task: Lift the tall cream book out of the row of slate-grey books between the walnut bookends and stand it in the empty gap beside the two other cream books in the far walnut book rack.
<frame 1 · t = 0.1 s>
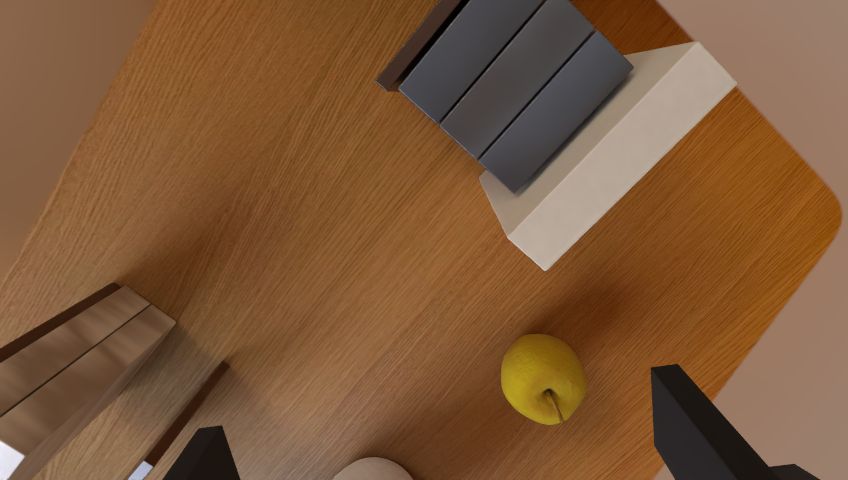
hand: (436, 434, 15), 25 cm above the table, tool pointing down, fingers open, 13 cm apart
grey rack: (501, 96, 36), on the table
apple: (532, 349, 42), on the table
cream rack: (149, 363, 43), on the table
cream book: (540, 133, 36), on the table
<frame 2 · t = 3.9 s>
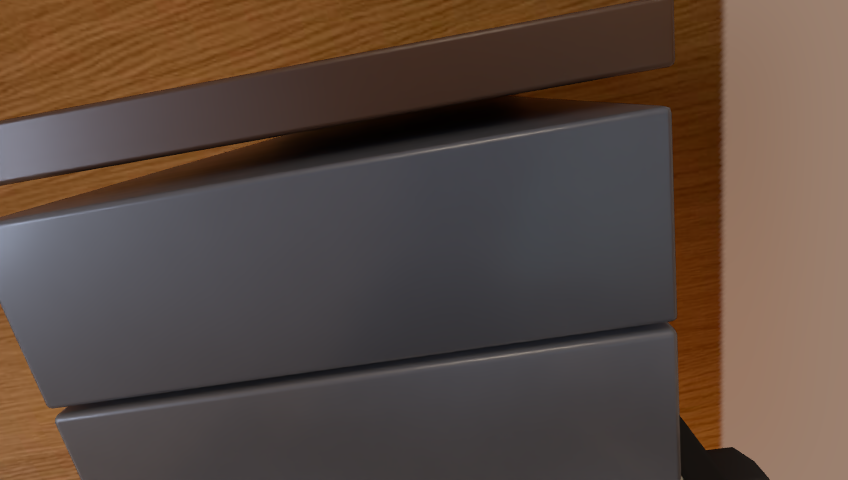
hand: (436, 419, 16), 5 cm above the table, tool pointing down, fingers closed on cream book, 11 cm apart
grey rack: (420, 250, 19), on the table
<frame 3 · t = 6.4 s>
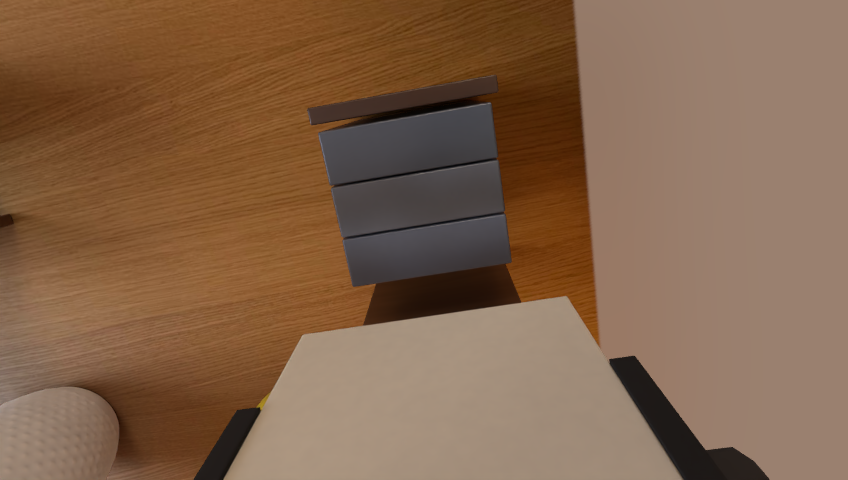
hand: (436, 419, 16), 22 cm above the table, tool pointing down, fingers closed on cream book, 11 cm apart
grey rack: (427, 182, 36), on the table
mug: (71, 414, 43), on the table
cream book: (437, 342, 20), point 17 cm above the table, touching gripper
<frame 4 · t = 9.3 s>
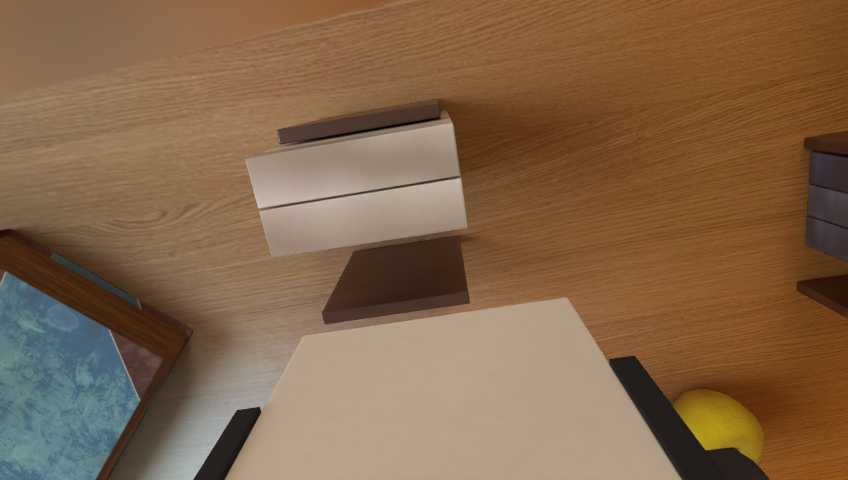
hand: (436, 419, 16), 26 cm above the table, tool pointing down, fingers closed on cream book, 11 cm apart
apple: (690, 401, 45), on the table
book: (59, 373, 46), on the table
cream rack: (395, 189, 40), on the table
cream book: (437, 343, 20), point 21 cm above the table, touching gripper
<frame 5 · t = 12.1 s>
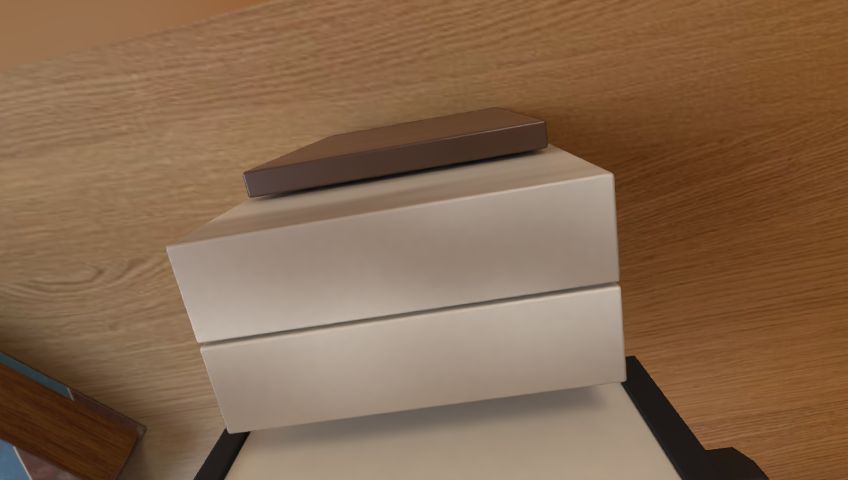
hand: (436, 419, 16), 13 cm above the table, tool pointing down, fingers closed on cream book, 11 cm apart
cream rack: (431, 237, 27), on the table
cream book: (437, 343, 20), point 8 cm above the table, touching gripper
when the fingers open (5 cm above the table, at t = 14.6 s): cream book stays where it is, on the table.
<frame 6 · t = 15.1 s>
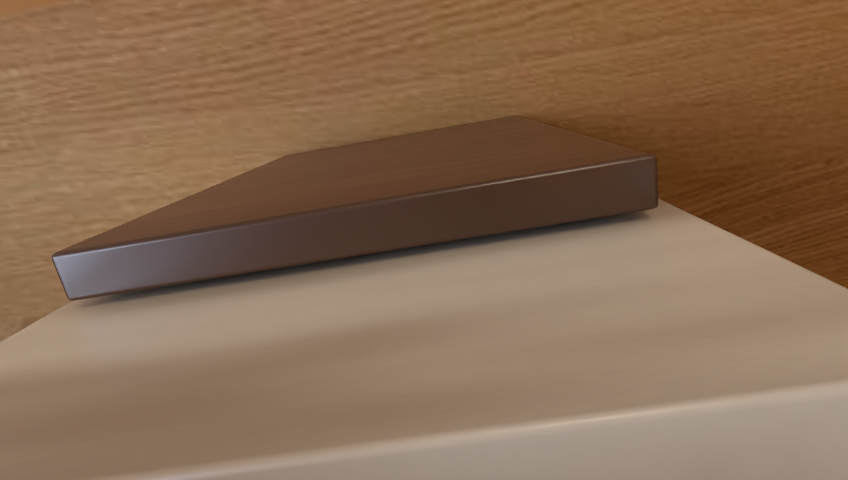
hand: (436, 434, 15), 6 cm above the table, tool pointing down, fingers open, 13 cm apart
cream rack: (427, 290, 20), on the table
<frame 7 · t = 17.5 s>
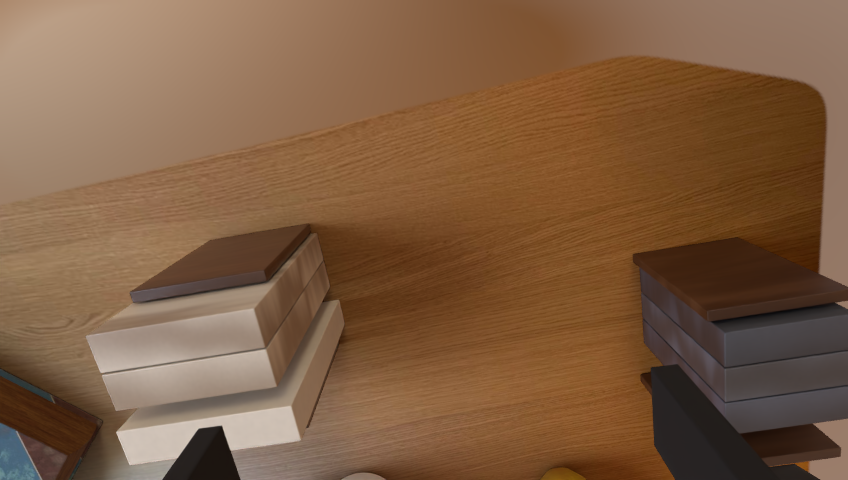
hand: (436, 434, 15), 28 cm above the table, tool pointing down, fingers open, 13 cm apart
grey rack: (686, 312, 44), on the table
apple: (558, 477, 50), on the table
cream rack: (277, 298, 44), on the table
cream book: (283, 321, 45), on the table
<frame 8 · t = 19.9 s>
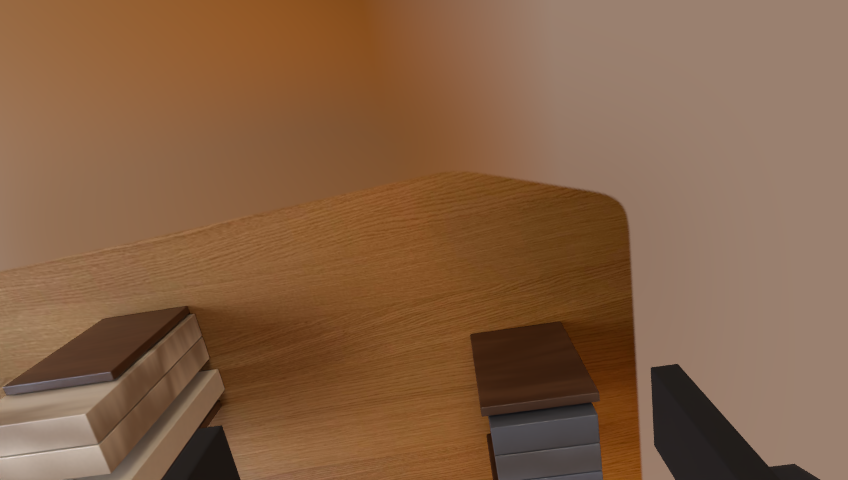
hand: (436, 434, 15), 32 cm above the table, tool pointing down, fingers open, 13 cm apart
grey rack: (522, 383, 50), on the table
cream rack: (165, 367, 51), on the table
cream book: (171, 386, 52), on the table
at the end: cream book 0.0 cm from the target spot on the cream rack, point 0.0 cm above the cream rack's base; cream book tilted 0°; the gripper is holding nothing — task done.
